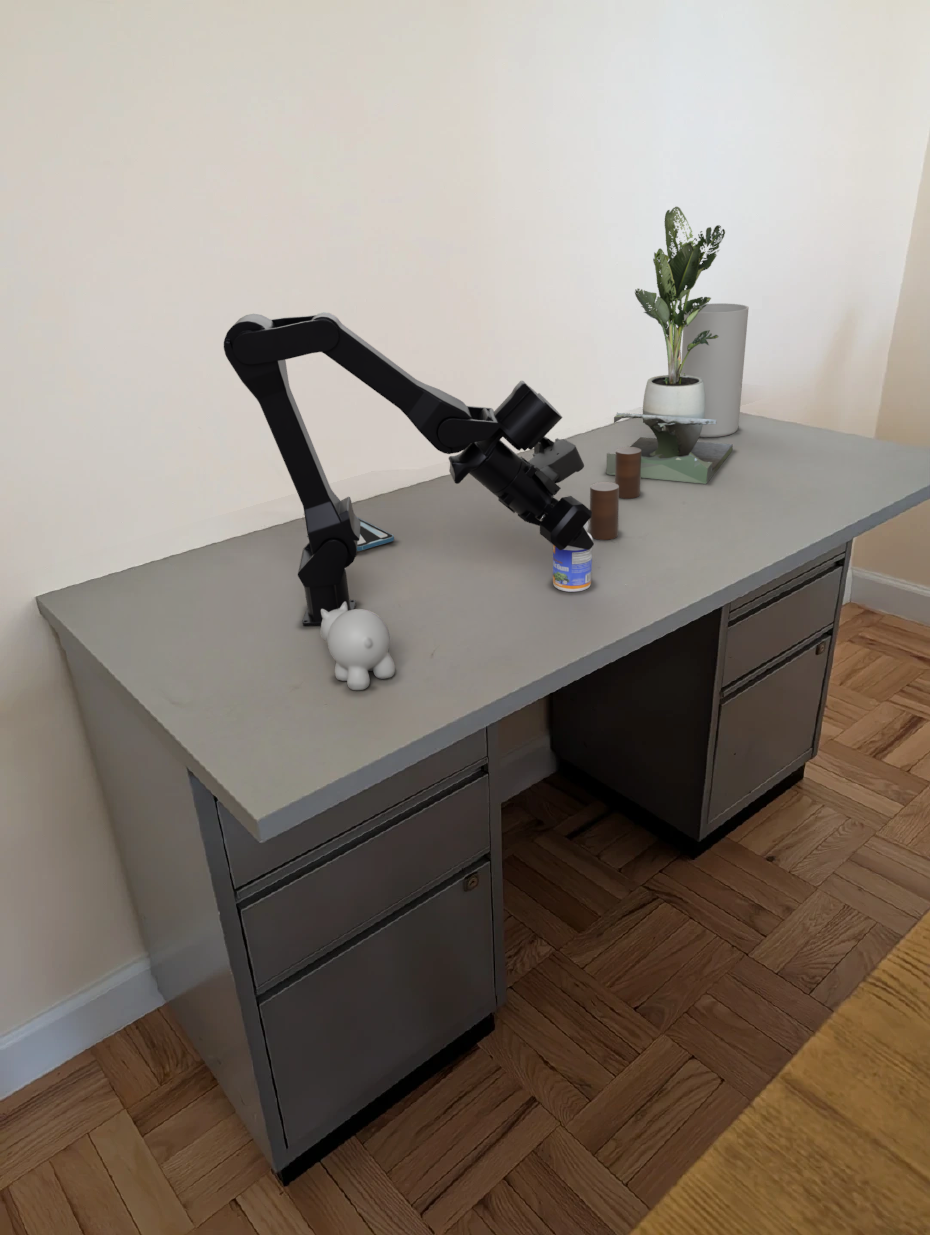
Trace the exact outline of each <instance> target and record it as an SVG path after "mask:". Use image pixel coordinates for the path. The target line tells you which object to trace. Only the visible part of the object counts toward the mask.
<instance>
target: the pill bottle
mask: <svg viewBox="0 0 930 1235" xmlns="http://www.w3.org/2000/svg"><path fill="white" fill-rule="evenodd" d="M583 527H584V529H585V530H586V532H587V533H588V535H589V536H590V538H591V540H592V541H593V542H594V538H592V536H591V535H590V532H588V530H589V520H588V521H587V523H586V524H585V525H584V526H583ZM592 564H593V547H592V548H591V549H590V550H587V549H582V548H577V547H572V546H567V547H566V548H565V549H563V550H559V549H558V548H556V547H555V546H554V545H553V544H552V585H553V587H555V588H556V589H557V590H559V591H562V592H567V593H568V592H569V593H577V592H583V591H585V590H587V589H589V588H590V587H591V585H592V571H593V570H592V569H593V568H592Z"/></svg>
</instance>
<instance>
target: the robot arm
mask: <svg viewBox="0 0 930 1235" xmlns="http://www.w3.org/2000/svg"><path fill="white" fill-rule="evenodd" d="M223 339H224V340H223V351H224V355H225V357H226V359H227V360H228V362H229V364H230V365H231V367H232V369H233V371H234V372H235V373H236V375H237V376H238V378H239V380H240V381H241V383H242V384H243V386H245V388H247V389H248V391H249V393H251V394H252V396H253V397H254V398H255V399H256V401H257V402H258V404H259V406H260V408H261V411H262V413H263V415H264V418H265V420H266V422H267V425H268V427H269V429H270V432H271V434H272V436H273V439H274V441H275V443H276V447H277V449H278V451H279V454H280V456H281V458H282V460H283V462H284V465H285V467H286V469H287V472H288V474H289V476H290V479H291V481H292V483H293V485H294V488H295V490H296V491H295V492H296V493H297V495H298V498H299V500H300V502H301V505H302V509H303V513H304V514H303V515H304V521H305V528H306V534H307V538H308V542H307V544H306V545H305V546H304V547H303V549H302V552H301V558H300V562H299V567H298V571H297V577H298V579H299V581H300V582H301V584H302V586H303V588H304V596H305V602H306V610H305V613H304V616H303V618H302V621H301V623H302V626H305V627H309V626H321V623H322V620H323V618H322V615H321V609H324V610H326V611H328V612H330V611H332V610H336V609H339V608H340V607H341V606H342V604H343V603H344V602H345V601H346V603H347V607H348V611H349V610H353V609H356V606H357V601H356V599H350V591H349V585H348V576H347V570H346V568H348V567H350V566H351V565H352V564H353V563H354V561H355V559H356V557H357V555H358V554H357V553H358V551H357V542H358V541H359V538H360V524H361V521H360V520H359V519H358V518H359V517H358V516H357V515H356V514H355V512H354V508H353V504H352V499H351V496H346V497H345V498H342V499H340V498H339V497H338V496H337V494H335V492H334V491H333V489H332V488H331V485H330V483H329V480H328V478H327V476H326V473H325V471H324V468H323V465H322V463H321V461H320V458H319V456H318V452H317V451H316V449H315V447H314V443H313V441H312V438H311V436H310V434H309V431H308V429H307V426H306V424H305V422H304V419H303V417H302V415H301V414H302V413H301V411H300V409H299V406H298V404H297V401H296V399H295V397H294V394H293V392H292V389H291V387H290V381H289V374H288V368H287V362H286V360H290V359H294V358H298V357H302V356H306V355H311V354H316V353H322V354H324V355H326V356H327V357H328V358H329V359H331V360H332V361H334V362H335V363H336V364H338V365H339V366H341V367H342V368H343V369H344V370H346V371H347V372H349V373H350V374H351V375H352V376H354V377H356V378H357V379H358V380H360V381H361V382H362V383H364V384H365V385H366V386H368V387H369V388H370V389H372V390H373V391H375V392H376V393H377V394H379V395H380V396H381V397H382V398H384V399H386V400H387V401H388V402H390V403H391V404H392V405H394V406H395V407H396V408H398V409H399V410H400V411H401V412H402V413H403V414H404V415H405V416H406V417H407V418H408V420H409V421H410V422H411V423H412V424H413V426H414V427H415V429H417V431H418V432H419V433H420V434H421V435H422V436H423V437H424V438H425V439H426V440H427V441H428V442H429V443H430V444H431V445H432V447H434V448H435V449H436V450H437V451H439V452H441V453H443V454H445V455H450V456H448V461H449V468H448V469H449V470H448V472H449V474H450V476H451V478H452V480H453V483H454V484H456V485H458V484H460V483H461V482H462V481H463V480H465V478H466V477H467V476H468V475H470V476H472V477H473V478H474V479H476V481H478V482H479V483H480V484H481V485H483V486H484V487H485V488H486V489H487V490H488V491H490V493H492V494H493V495H494V496H495V497H497V499H498V500H497V501H498V502H500V503H501V504H502V505H503V506H504V507H505V508H507V510H509V511H510V512H512V513H513V514H515V513H516V514H517V517H519V518H520V519H521V520H522V521H524V522H526V523H529V524H532V525H535V526H539V535H541V537H543V538H544V539H545V540H547V541H548V542H549V543H550V544H551V545H552V546H553V545H554V546H555V547H556V548H558V549H559V550H563V549H565V548H566V547H567V546H572V547H577V548H582V549H587V550H590V549H591V548H592V549H593V547H594V544H595V542H594V540H593V541H592V540H591V538H590V536H589V535H588V533H589V532H588V531H586V530H585V529H584V527H583V526H584V525H585V524H586V523H587V521H588V522H589V521H590V518H591V515H592V512H591V511H590V508H588V507H587V506H586V505H585V504H583V503H582V502H581V501H579V500H578V499H577V498H575V497H573V496H572V495H567V496H563V497H561V498H560V499H559V500H558V499H557V498H556V497H554V496H556V494H557V493H559V491H560V490H561V489H562V488H561V486H559V485H558V484H559V483H561V482H563V481H564V480H566V479H568V478H569V477H570V476H572V475H573V474H575V473H578V472H580V471H582V470H583V469H585V468H584V467H585V463H584V461H583V459H582V457H581V455H580V453H579V451H578V448H577V446H576V444H574V443H573V442H571V441H569V440H567V439H566V438H561V439H560V438H558V437H557V438H555V439H554V441H553V440H551V439H550V438H548V437H547V436H546V435H547V434H549V432H551V430H552V429H553V428H555V426H556V425H557V424H558V423H559V422H560V421H561V420H562V419H563V416H562V415H561V413H560V412H559V411H558V410H557V409H556V408H555V407H554V406H553V405H552V404H551V403H550V402H549V401H548V400H547V399H546V398H545V397H544V395H542V394H541V393H540V392H538V393H537V391H535V390H534V389H533V388H532V387H531V386H529V385H528V383H526V382H525V381H524V380H520V381H518V383H517V384H516V385H515V386H514V387H513V389H512V391H511V392H510V394H509V395H508V396H507V397H506V398H505V399H504V400H503V401H502V403H500V405H499V406H497V408H496V409H495V410H494V409H493V408H492V407H484V406H474V405H467V404H465V402H464V401H462V400H461V399H459V398H457V397H455V396H453V395H452V394H450V393H447V392H446V391H443V390H441V389H440V388H437V387H435V386H432V385H429V384H427V383H424V382H423V381H421V380H419V379H417V378H415V377H414V376H413V375H411V374H410V373H408V372H407V371H406V370H405V369H404V368H403V367H400V365H398V364H396V363H395V362H394V361H393V360H391V359H390V358H389V357H387V356H386V355H385V354H383V353H382V352H381V351H379V350H378V349H376V348H375V347H374V346H373V345H371V344H370V343H369V342H368V341H366V340H365V339H364V338H362V337H361V336H359V335H358V334H357V333H355V332H354V331H353V330H351V329H350V328H349V327H347V326H346V325H345V324H343V323H342V321H340V319H339V318H338V317H337V316H336V315H334V314H332V313H330V312H319V313H317V314H313V315H302V316H300V315H299V316H288V317H287V316H286V317H279V318H269V317H267V316H264V315H262V314H258V313H249V314H245V315H243V316H242V317H240V318H239V319H238V320H237V321H236V322H235V323H234V324H233V325H232V326H231V327H229V329H228V331H227V332H226V334H225V336H224V338H223ZM502 438H503V439H505V441H506V442H507V443H509V445H510V446H512V447H513V448H514V449H516V450H517V451H518V452H519V451H521V450H523V451H524V452H526V451H527V450H529V451H532V450H533V453H532V456H533V457H532V458H531V459H530V460H527V459H525V458H524V457H522V456H520V455H518V454H517V453H516V452H515V451H514V450H512V449H511V448H510V447H509V446H508V445H507V444H506V443H505V442H503V440H501V439H502ZM452 454H456V455H452ZM357 517H358V518H357ZM587 532H588V533H587Z"/></svg>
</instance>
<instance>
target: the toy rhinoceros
mask: <svg viewBox="0 0 930 1235" xmlns="http://www.w3.org/2000/svg"><path fill="white" fill-rule="evenodd" d="M321 615H322V618H323V620H322V623H321V625H320V629H319V631H320V632H319V633H320V636H321V638H322V640H324V641H325V642H326V643H327V648H328V651H329V654H330V656H331V657H332V658H333V660H334V661H335V664H334V675H335V678H336V679H337V681H342V682H346V683H347V687H348V688H349V689H350V690H352V691H363V690H365V689H367V688H368V687H369V686H370V683H371V680H370V675H369V672H373V675H374V676H375V678H377V679H379V680H383V679H389V678H392V677H393V676H394V674H395V673H396V665H395V662H394V660H393V657H392V656H391V655H390V653H389V648H390V645H391V636H390V631H389V627H388V625H387V624H386V622H385V621H384V619H383V618H382V617H381V616H379V615H378V614H377V613H375V612H373V611H371V610H369V609H364V608H355V609H353V610H349V611H348V607H347V603H346V601H345V602H344V603H343V604H342V606H341V607H340V608H339V609H336V610H332V611H330V612H328V611H326V610H324V609H321Z"/></svg>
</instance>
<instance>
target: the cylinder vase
mask: <svg viewBox="0 0 930 1235" xmlns="http://www.w3.org/2000/svg"><path fill="white" fill-rule="evenodd" d="M704 305H707V306H705V307H703V309H702V306H704ZM704 305H701V306H700V307H701V309H702V310H701V311H700V312H699V311H698V312H699V313H698V312H697V316H696V317H695V319H694V320H693V321H692V322H691V323H690V324H689V325H688V326H687V325H685V327H684V328H683V331H682V341H681V363H682V362H683V360H684V358H685V356H686V354H687V352H688V351H687V350H688V349H690V348H688V349H687V346H688V344H690V343H692V342H693V341H694V339H695V338H696V337H698V336H697V335H698V334H699V335H700V333H701V332H703V331H707V333H708V330H710V331H709V333H708V335H710V333H712V336H710V337H713V336H714V335H718V336H719V337H718V338H716V339H706V340H707V342H708V344H709V345H707V344H705V343H704V344H698V345H697V346H695V347H694V348H693V349H691V350H690V352H689V354H688V356H687V358H686V360H685V362H684V365H683V368H682V371H681V374H680V375H684V374H683V373H685V375H690V376H696V377H700V378H702V379H703V381H704V387H705V417H704V419H713V420H717V424H708V425H703V427H702V430H701V433H700V436H699V438H720V437H726V436H730V435H733V434H735V433H736V432H738V430H739V427H740V426H739V425H740V416H741V415H740V414H741V400H742V390H743V377H744V367H745V355H746V343H747V332H748V330H747V329H748V320H749V306H747V305H745V304H740V303H708V304H707V303H706V304H704ZM693 306H694V304H693ZM699 310H700V309H699ZM692 311H693V309H691V312H692ZM686 314H687V313H686ZM689 314H690V311H689V312H688V316H689ZM688 316H687V315H685V314H684V321H685V320H686V319H687V317H688ZM686 326H687V327H686ZM702 335H703V334H702ZM708 335H707V336H708ZM707 336H706V337H707ZM702 337H703V336H702ZM699 339H701V337H699ZM681 363H680V364H681Z"/></svg>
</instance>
